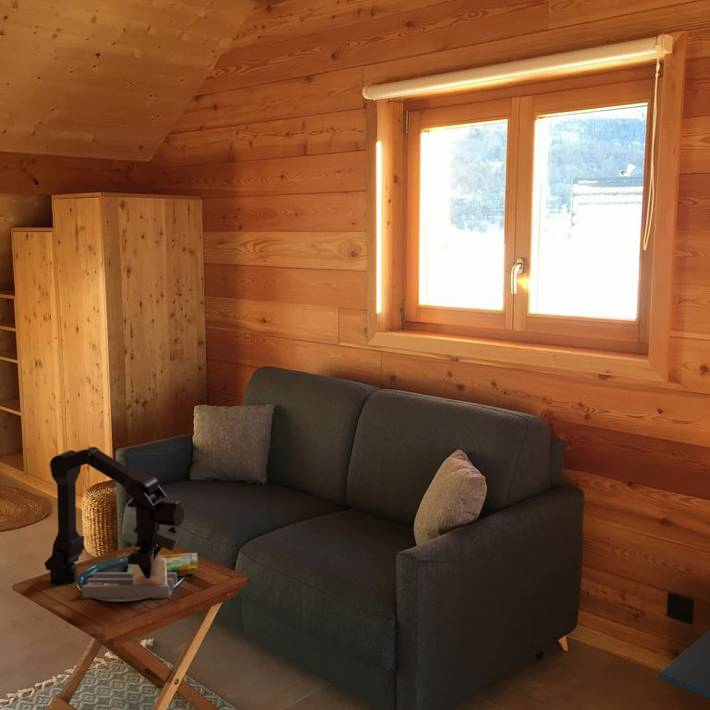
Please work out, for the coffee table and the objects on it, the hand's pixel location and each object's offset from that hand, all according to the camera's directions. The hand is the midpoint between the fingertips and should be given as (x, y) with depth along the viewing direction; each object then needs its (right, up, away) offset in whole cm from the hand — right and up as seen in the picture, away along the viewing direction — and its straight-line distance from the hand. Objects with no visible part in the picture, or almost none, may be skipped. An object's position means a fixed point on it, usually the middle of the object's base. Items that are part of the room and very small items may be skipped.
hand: (149, 576), depth 244 cm
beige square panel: (0, -4, +1) cm, 4 cm away
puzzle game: (0, -4, +17) cm, 17 cm away
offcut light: (-11, -5, +1) cm, 12 cm away
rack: (-6, -6, +3) cm, 9 cm away
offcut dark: (-15, -5, +1) cm, 16 cm away
